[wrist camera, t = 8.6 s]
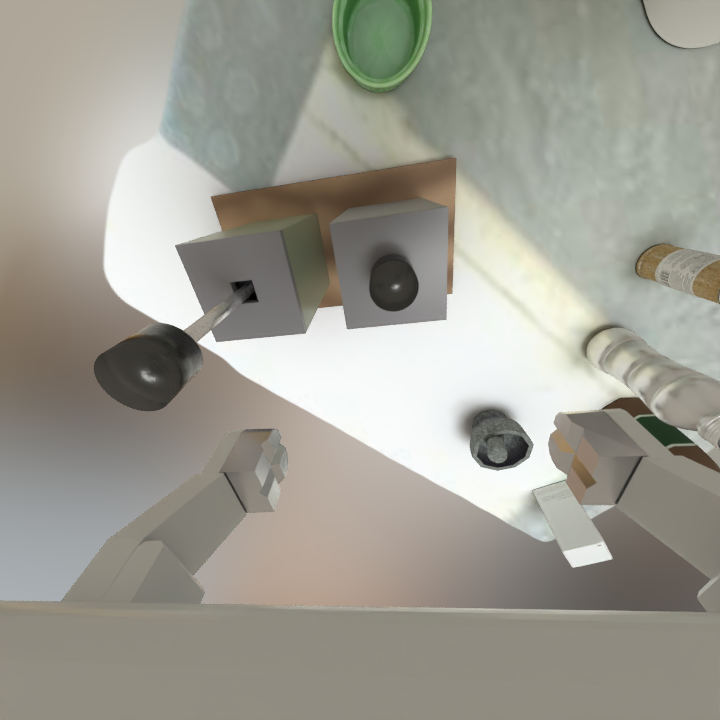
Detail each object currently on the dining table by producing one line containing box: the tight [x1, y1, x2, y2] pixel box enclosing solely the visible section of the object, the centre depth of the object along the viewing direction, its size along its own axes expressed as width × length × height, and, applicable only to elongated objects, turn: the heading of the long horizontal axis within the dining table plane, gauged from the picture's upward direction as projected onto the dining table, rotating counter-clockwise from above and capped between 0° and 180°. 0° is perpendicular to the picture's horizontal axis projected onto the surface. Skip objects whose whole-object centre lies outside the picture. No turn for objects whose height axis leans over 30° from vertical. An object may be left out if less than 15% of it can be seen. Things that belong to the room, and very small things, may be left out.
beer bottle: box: [603, 398, 720, 473], centre depth 42 cm, size 8×8×24 cm
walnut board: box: [211, 158, 456, 308], centre depth 40 cm, size 16×30×2 cm, turn 98°
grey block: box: [329, 198, 449, 329], centre depth 31 cm, size 9×9×16 cm
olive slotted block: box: [175, 213, 330, 342], centre depth 33 cm, size 9×9×16 cm
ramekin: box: [332, 0, 432, 92], centre depth 28 cm, size 9×9×4 cm
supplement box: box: [533, 480, 612, 568], centre depth 59 cm, size 7×7×13 cm
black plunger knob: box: [94, 280, 258, 411], centre depth 22 cm, size 7×7×19 cm
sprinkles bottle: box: [636, 244, 720, 304], centre depth 33 cm, size 5×5×13 cm
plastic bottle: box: [587, 328, 720, 449], centre depth 37 cm, size 6×7×20 cm
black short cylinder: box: [369, 254, 419, 312], centre depth 29 cm, size 7×7×19 cm
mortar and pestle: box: [470, 410, 533, 470], centre depth 50 cm, size 11×9×12 cm
